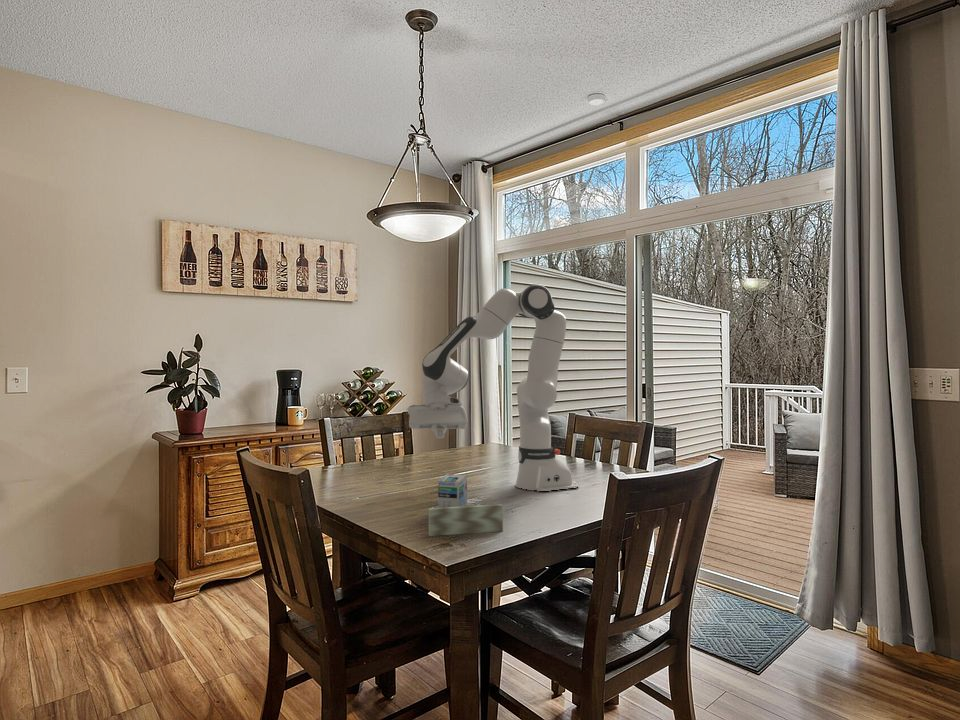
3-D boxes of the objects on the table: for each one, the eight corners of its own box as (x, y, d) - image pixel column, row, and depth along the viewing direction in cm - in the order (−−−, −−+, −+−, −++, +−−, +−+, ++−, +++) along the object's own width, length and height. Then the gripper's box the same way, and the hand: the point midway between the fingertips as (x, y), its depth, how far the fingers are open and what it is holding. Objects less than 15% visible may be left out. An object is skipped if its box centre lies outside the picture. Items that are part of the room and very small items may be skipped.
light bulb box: (459, 518, 168) (459, 481, 168) (437, 517, 170) (437, 480, 169) (467, 508, 179) (467, 474, 178) (446, 507, 180) (446, 473, 180)
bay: (489, 516, 171) (489, 492, 171) (502, 531, 157) (502, 505, 157) (422, 520, 166) (422, 495, 166) (429, 536, 152) (429, 509, 152)
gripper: (408, 399, 200) (410, 431, 190) (466, 399, 205) (471, 431, 195) (406, 410, 204) (408, 442, 195) (463, 411, 209) (467, 442, 200)
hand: (440, 437), depth 195 cm, fingers closed
